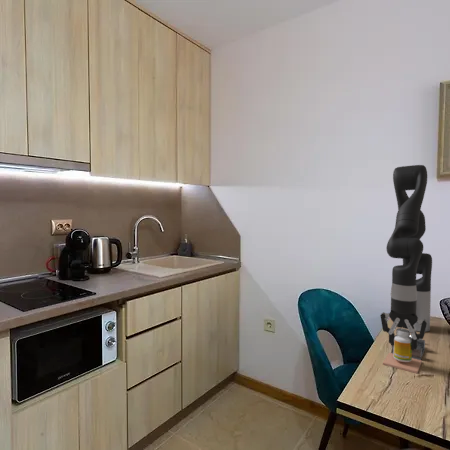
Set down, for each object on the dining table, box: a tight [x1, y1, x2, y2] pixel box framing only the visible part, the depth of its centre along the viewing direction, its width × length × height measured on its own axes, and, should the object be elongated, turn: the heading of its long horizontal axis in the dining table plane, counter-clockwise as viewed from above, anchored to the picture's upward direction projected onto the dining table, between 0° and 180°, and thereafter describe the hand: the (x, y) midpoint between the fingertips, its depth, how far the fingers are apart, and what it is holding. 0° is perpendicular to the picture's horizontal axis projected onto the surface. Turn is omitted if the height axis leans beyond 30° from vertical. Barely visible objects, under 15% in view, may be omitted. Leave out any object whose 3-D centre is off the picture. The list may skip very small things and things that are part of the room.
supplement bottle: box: [393, 327, 412, 362], centre depth 108 cm, size 5×5×10 cm
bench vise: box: [391, 334, 426, 360], centre depth 120 cm, size 18×9×4 cm, turn 142°
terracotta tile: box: [382, 352, 423, 374], centre depth 108 cm, size 10×10×1 cm
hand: (402, 346), depth 108 cm, fingers open, 5 cm apart
